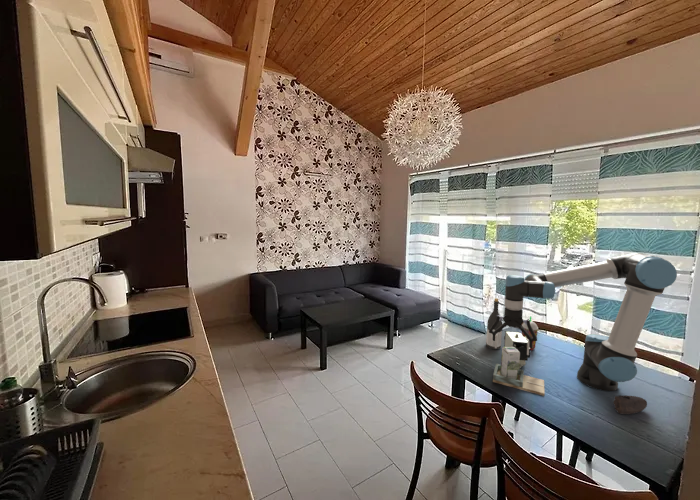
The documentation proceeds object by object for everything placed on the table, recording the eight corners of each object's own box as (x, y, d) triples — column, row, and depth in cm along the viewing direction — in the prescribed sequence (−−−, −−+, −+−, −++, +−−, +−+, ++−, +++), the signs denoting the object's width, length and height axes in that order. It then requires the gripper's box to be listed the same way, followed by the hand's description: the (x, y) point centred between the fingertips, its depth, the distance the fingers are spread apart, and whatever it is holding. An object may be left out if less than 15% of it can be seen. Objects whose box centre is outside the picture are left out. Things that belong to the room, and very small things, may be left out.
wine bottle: (501, 345, 182) (504, 298, 178) (499, 350, 175) (503, 301, 171) (487, 342, 186) (490, 296, 182) (485, 347, 180) (488, 299, 175)
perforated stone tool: (639, 406, 126) (641, 391, 125) (652, 414, 121) (655, 399, 120) (607, 409, 124) (608, 393, 123) (619, 417, 119) (621, 401, 118)
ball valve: (531, 375, 149) (534, 341, 147) (512, 373, 151) (515, 340, 149) (518, 358, 167) (521, 327, 164) (502, 356, 168) (504, 326, 166)
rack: (543, 382, 143) (544, 375, 143) (544, 396, 133) (545, 388, 132) (495, 370, 154) (496, 363, 154) (492, 381, 144) (493, 374, 143)
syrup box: (511, 373, 148) (513, 346, 146) (518, 380, 143) (520, 351, 141) (499, 373, 148) (501, 346, 146) (506, 380, 143) (508, 351, 141)
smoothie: (516, 346, 181) (519, 314, 178) (527, 344, 183) (530, 313, 180) (528, 352, 173) (531, 319, 170) (539, 350, 175) (542, 318, 173)
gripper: (544, 309, 137) (542, 353, 140) (486, 302, 151) (484, 341, 153) (545, 314, 131) (542, 360, 134) (483, 306, 144) (482, 347, 147)
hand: (511, 350), depth 144 cm, fingers open, 13 cm apart
